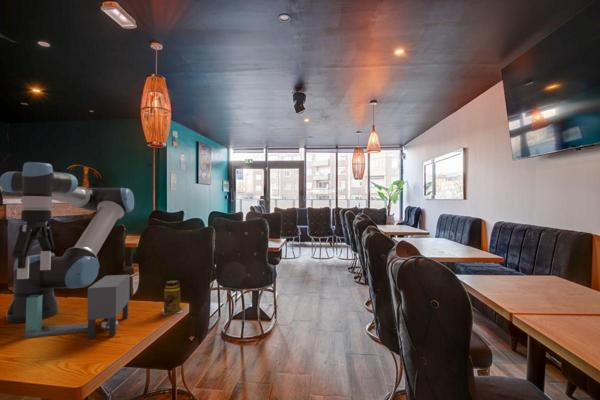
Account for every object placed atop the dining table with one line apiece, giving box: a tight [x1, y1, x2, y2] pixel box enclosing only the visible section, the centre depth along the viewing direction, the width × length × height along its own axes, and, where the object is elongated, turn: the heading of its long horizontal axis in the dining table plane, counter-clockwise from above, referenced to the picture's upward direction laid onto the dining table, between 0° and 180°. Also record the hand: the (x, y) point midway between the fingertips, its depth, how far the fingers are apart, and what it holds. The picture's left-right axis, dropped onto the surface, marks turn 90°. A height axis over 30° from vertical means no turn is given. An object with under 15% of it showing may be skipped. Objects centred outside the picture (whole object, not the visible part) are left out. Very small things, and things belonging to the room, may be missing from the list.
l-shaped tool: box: [23, 295, 88, 339], centre depth 102 cm, size 18×5×12 cm, turn 107°
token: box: [100, 319, 119, 331], centre depth 106 cm, size 5×5×2 cm
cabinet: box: [86, 274, 131, 340], centre depth 107 cm, size 18×8×16 cm, turn 17°
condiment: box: [161, 280, 183, 316], centre depth 124 cm, size 7×8×12 cm
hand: (34, 274), depth 100 cm, fingers open, 13 cm apart
